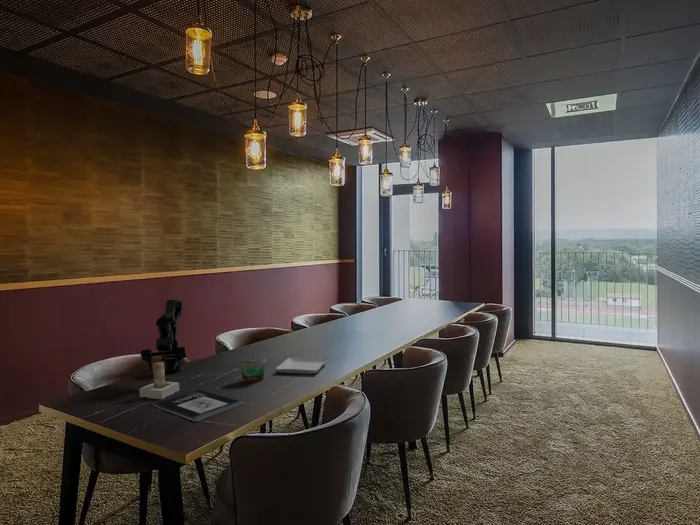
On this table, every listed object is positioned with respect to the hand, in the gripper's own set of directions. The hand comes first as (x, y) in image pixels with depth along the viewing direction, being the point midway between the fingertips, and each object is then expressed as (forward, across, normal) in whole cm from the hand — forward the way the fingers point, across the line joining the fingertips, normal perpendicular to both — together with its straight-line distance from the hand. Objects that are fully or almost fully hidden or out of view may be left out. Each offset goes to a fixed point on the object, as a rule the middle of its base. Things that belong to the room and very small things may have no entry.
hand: (162, 370), depth 202 cm
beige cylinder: (+11, 0, 0) cm, 11 cm away
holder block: (+11, 0, 0) cm, 11 cm away
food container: (+8, +39, +4) cm, 40 cm away
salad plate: (-2, +63, +14) cm, 64 cm away
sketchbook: (+25, +17, -13) cm, 33 cm away
